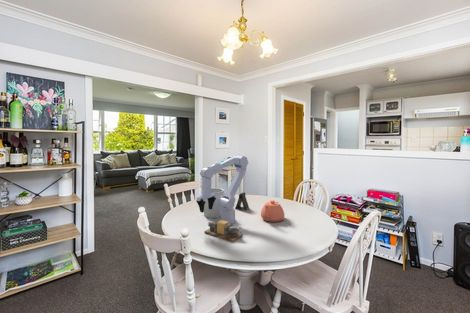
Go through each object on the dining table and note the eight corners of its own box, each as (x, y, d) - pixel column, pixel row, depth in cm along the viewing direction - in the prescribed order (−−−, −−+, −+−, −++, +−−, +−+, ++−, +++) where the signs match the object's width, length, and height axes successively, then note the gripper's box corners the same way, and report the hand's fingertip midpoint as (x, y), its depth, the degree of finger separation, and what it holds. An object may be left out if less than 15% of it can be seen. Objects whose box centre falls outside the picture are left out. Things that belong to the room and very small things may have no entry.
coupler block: (228, 232, 129) (228, 221, 129) (224, 234, 126) (224, 224, 125) (221, 230, 132) (221, 220, 131) (216, 232, 128) (216, 222, 128)
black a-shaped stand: (235, 208, 176) (235, 193, 175) (238, 206, 181) (238, 191, 180) (246, 210, 172) (246, 194, 171) (249, 208, 177) (249, 192, 176)
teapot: (276, 227, 140) (277, 207, 139) (253, 222, 148) (254, 203, 147) (288, 216, 158) (288, 198, 158) (267, 212, 167) (267, 195, 166)
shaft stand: (204, 233, 131) (204, 222, 130) (214, 228, 138) (214, 218, 138) (233, 242, 119) (233, 231, 119) (242, 236, 126) (242, 225, 126)
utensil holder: (214, 219, 153) (214, 193, 151) (198, 215, 162) (198, 190, 160) (228, 213, 164) (228, 189, 163) (212, 209, 173) (212, 186, 172)
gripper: (209, 185, 145) (209, 206, 146) (192, 189, 133) (192, 212, 134) (218, 187, 141) (217, 208, 142) (202, 190, 129) (201, 214, 130)
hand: (206, 210), depth 138 cm, fingers open, 7 cm apart
